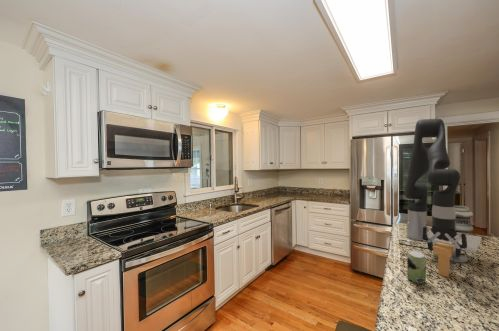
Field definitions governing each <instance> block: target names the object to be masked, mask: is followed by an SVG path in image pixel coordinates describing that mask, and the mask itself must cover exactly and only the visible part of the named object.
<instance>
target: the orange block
mask: <svg viewBox="0 0 499 331" xmlns="http://www.w3.org/2000/svg"><path fill="white" fill-rule="evenodd" d="M432 253H433V254H434V255H437V274H438V275H439V276H442V277H449V275H450V274H451V272H450V271H451V270H450V268H451V267H450V266H451V265H450V264H451V263H450V262H451V261H450V257H452V255H453V254H454V245H449V244H444V243H439V242H437V243H434V244H433V251H432Z"/></svg>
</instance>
